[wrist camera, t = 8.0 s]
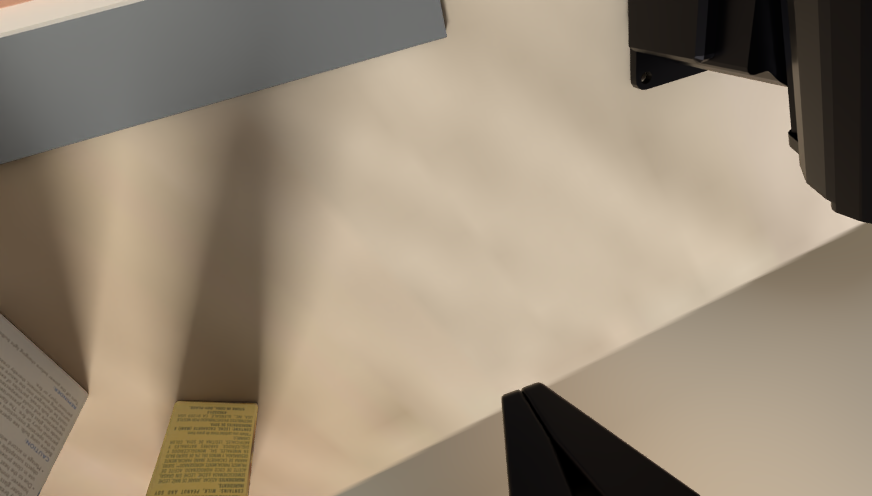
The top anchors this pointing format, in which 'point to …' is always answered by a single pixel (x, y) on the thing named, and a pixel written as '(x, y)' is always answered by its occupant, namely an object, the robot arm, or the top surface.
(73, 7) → the ivory tile
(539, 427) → the robot arm
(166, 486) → the candy box
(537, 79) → the top surface
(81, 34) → the rubber mat
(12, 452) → the light bulb box
